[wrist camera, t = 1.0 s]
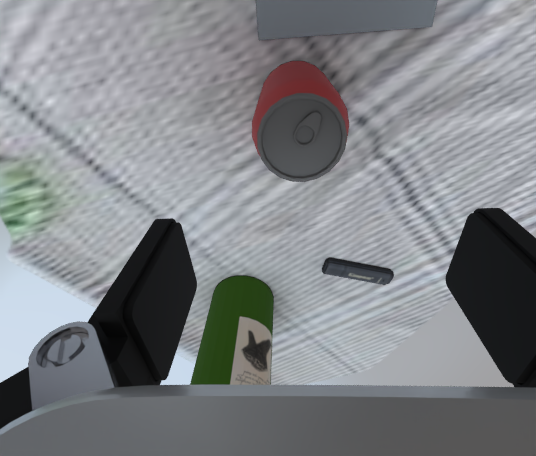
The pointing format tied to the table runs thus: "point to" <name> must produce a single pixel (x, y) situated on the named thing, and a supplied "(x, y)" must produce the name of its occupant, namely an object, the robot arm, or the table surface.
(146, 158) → the table surface
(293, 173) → the beer can
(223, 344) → the wine bottle
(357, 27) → the mat
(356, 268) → the usb stick
